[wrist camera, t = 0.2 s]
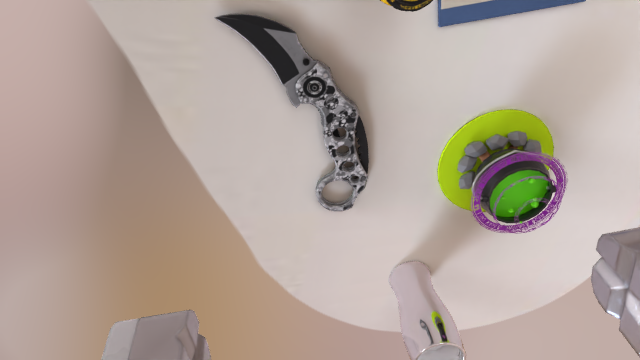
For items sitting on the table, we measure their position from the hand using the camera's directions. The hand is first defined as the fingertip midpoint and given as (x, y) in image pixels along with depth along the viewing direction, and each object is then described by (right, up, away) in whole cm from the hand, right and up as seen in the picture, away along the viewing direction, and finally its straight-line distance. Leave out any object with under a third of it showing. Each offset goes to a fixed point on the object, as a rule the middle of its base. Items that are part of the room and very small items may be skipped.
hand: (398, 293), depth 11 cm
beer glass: (+11, -12, +66) cm, 68 cm away
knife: (-3, +10, +50) cm, 51 cm away
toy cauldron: (+21, +5, +57) cm, 60 cm away
